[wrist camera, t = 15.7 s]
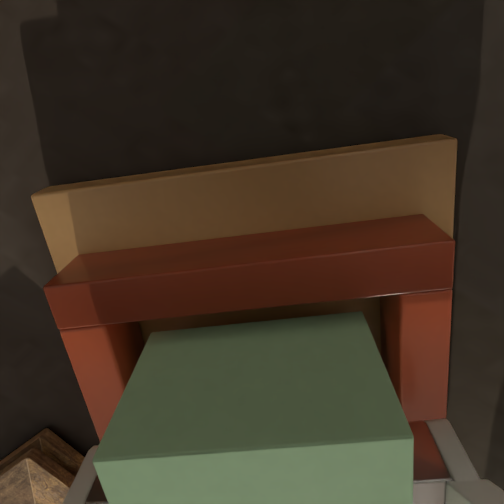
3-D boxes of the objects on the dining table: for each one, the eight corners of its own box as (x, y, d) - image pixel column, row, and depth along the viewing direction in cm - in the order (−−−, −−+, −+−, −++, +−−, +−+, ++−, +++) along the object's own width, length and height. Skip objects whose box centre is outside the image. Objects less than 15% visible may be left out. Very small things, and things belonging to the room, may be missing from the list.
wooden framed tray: (47, 186, 12) (-21, 218, 9) (442, 132, 11) (502, 150, 8) (151, 501, 17) (127, 584, 14) (431, 482, 16) (466, 568, 13)
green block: (150, 331, 11) (90, 460, 7) (362, 310, 10) (414, 436, 7) (191, 480, 13) (160, 640, 9) (369, 468, 12) (412, 630, 9)
